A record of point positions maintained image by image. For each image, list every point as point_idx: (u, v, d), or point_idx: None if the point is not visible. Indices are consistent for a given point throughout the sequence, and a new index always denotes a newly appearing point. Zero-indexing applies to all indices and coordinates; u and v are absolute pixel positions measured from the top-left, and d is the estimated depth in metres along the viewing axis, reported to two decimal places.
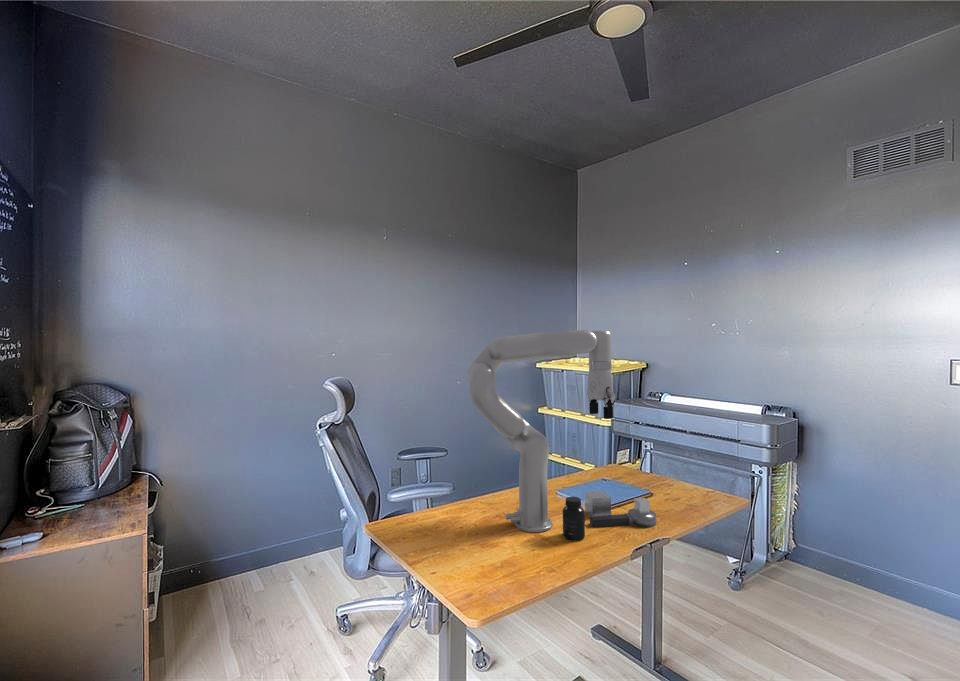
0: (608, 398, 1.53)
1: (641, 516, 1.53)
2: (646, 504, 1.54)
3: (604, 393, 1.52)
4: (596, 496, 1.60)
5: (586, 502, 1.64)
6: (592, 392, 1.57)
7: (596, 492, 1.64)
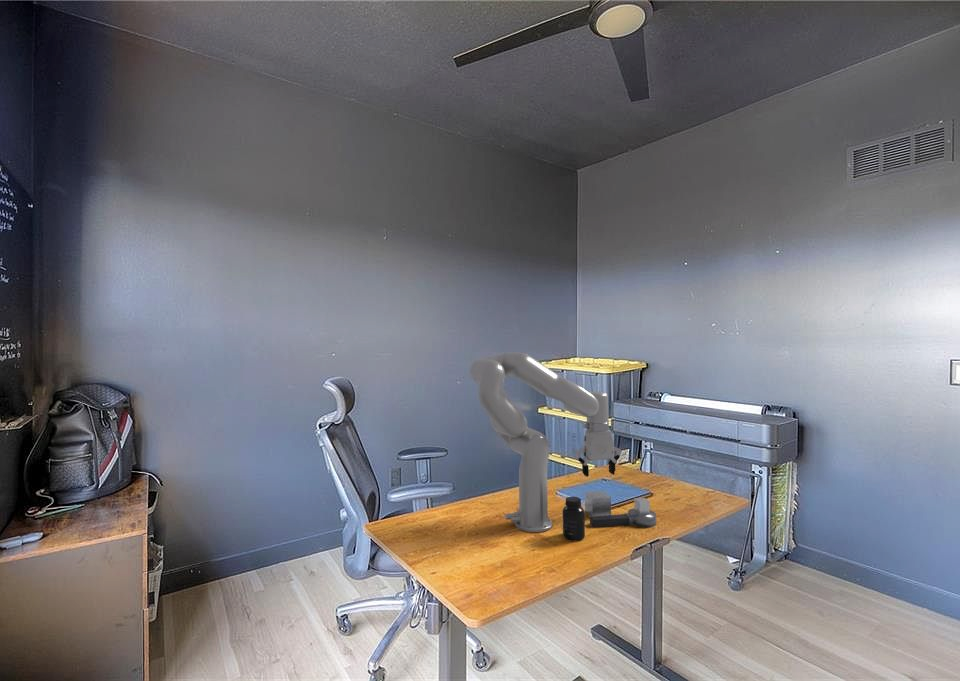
0: None
1: (641, 516, 1.53)
2: (646, 504, 1.54)
3: None
4: (596, 496, 1.60)
5: (586, 502, 1.64)
6: (600, 453, 1.60)
7: (596, 492, 1.64)
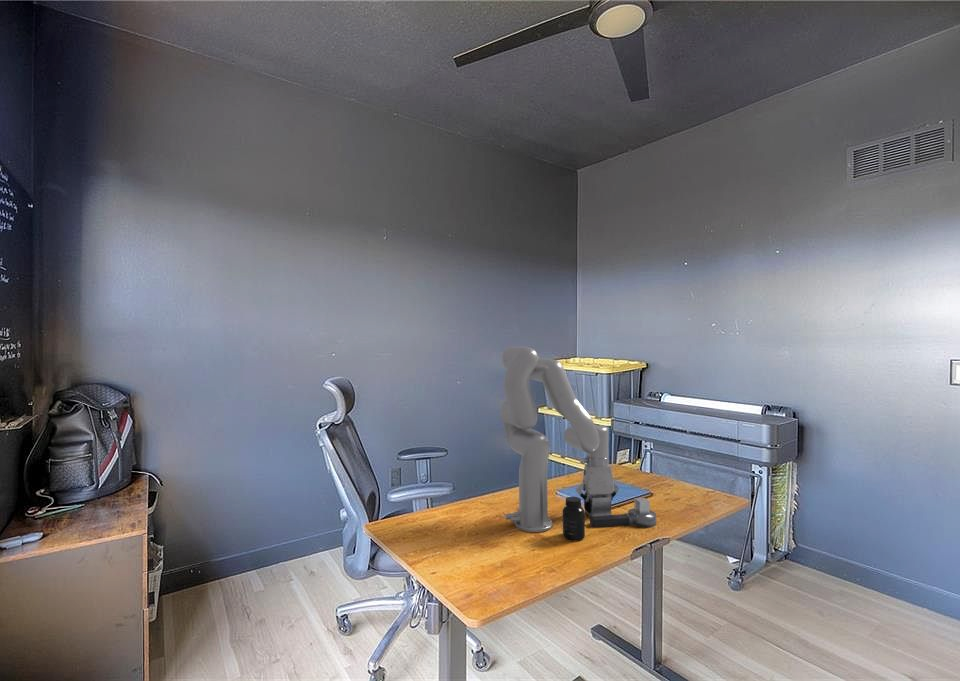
0: None
1: (641, 516, 1.53)
2: (646, 504, 1.54)
3: None
4: (596, 496, 1.60)
5: None
6: (599, 488, 1.60)
7: None
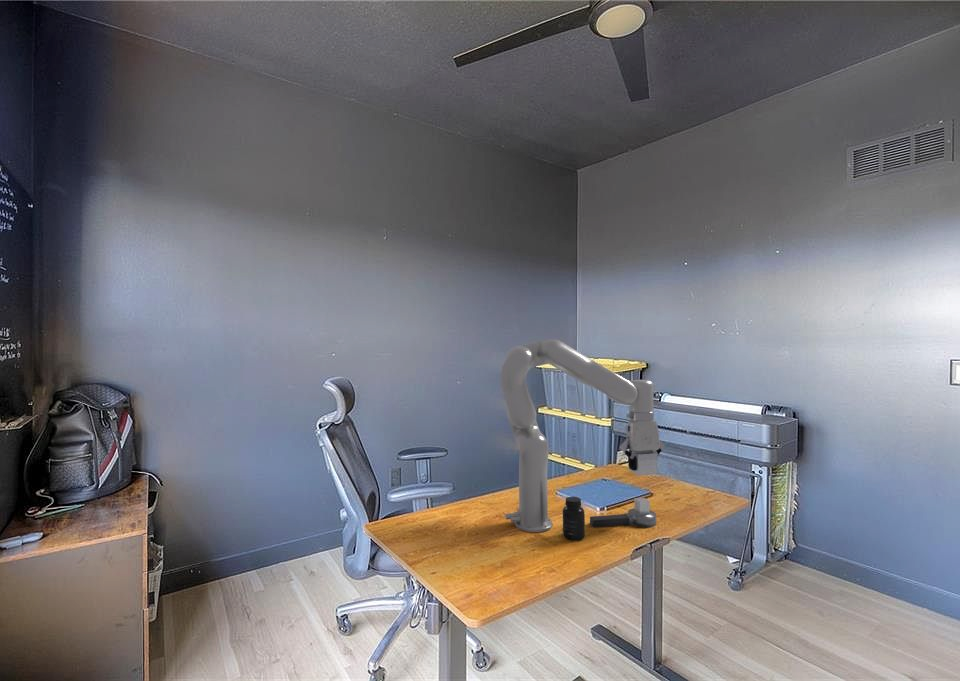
0: None
1: (641, 516, 1.53)
2: (646, 504, 1.54)
3: None
4: (641, 452, 1.53)
5: None
6: (645, 444, 1.52)
7: None
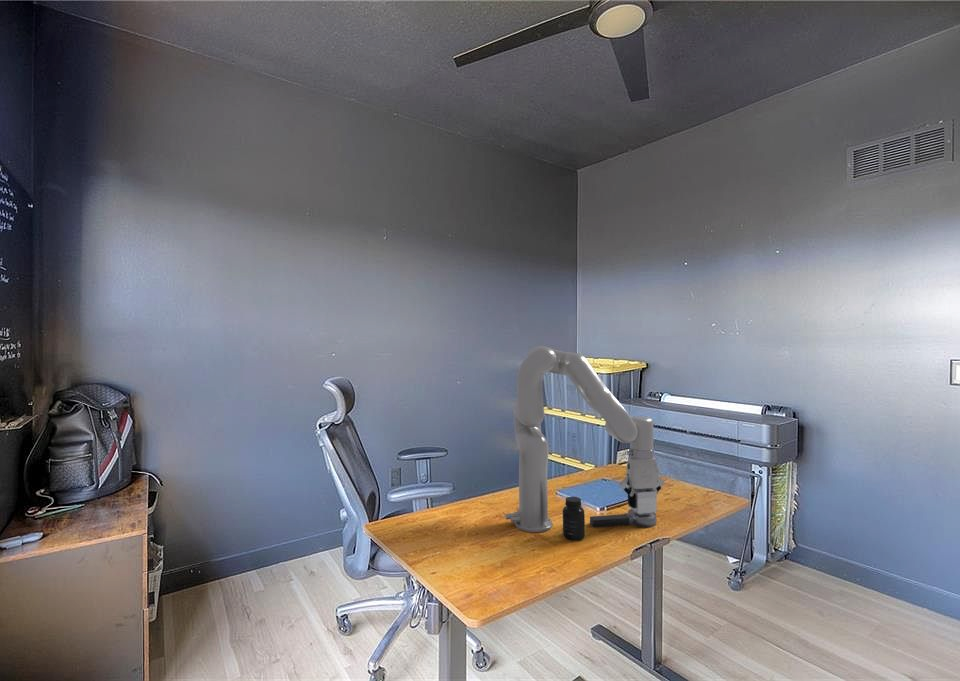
0: None
1: (641, 516, 1.53)
2: None
3: None
4: (641, 490, 1.53)
5: None
6: (644, 482, 1.52)
7: None
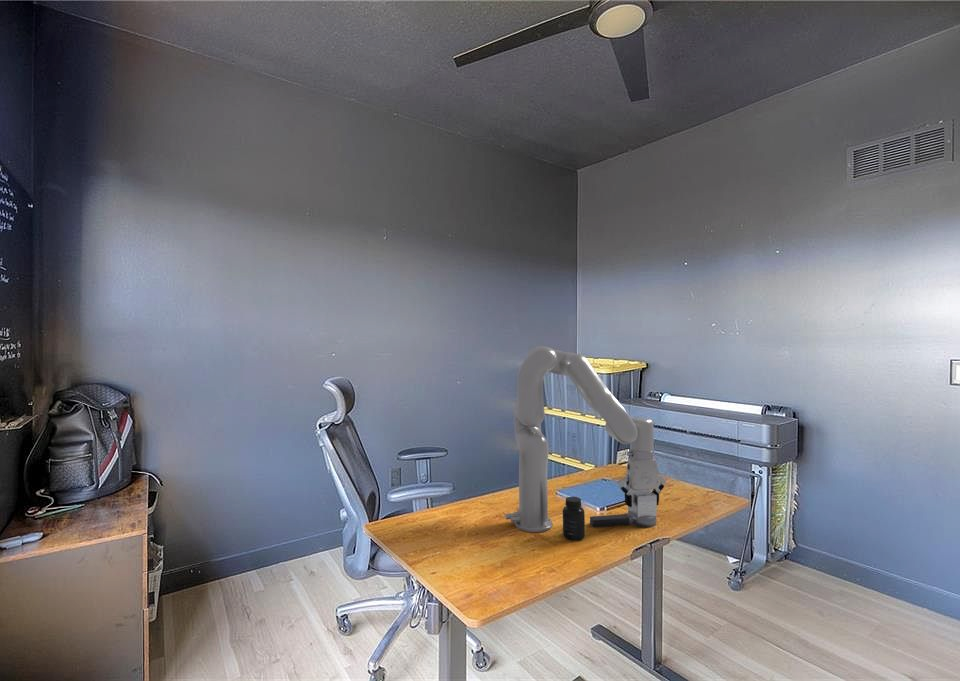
0: None
1: None
2: None
3: None
4: (641, 494, 1.53)
5: None
6: (644, 483, 1.52)
7: (640, 490, 1.58)
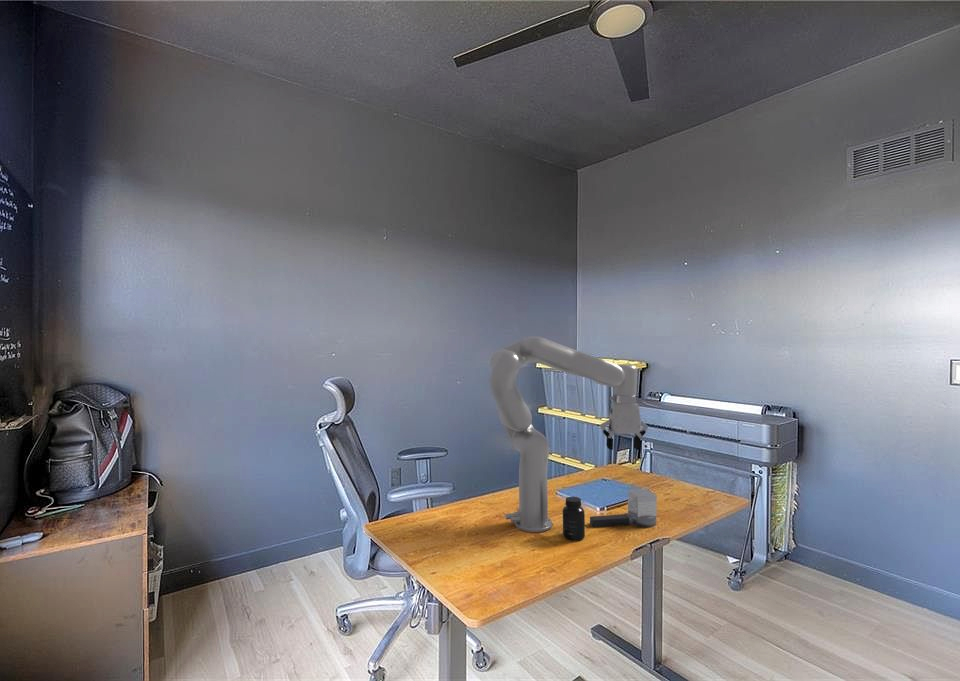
0: None
1: None
2: None
3: None
4: (641, 494, 1.53)
5: (629, 500, 1.57)
6: (626, 427, 1.57)
7: (640, 490, 1.58)
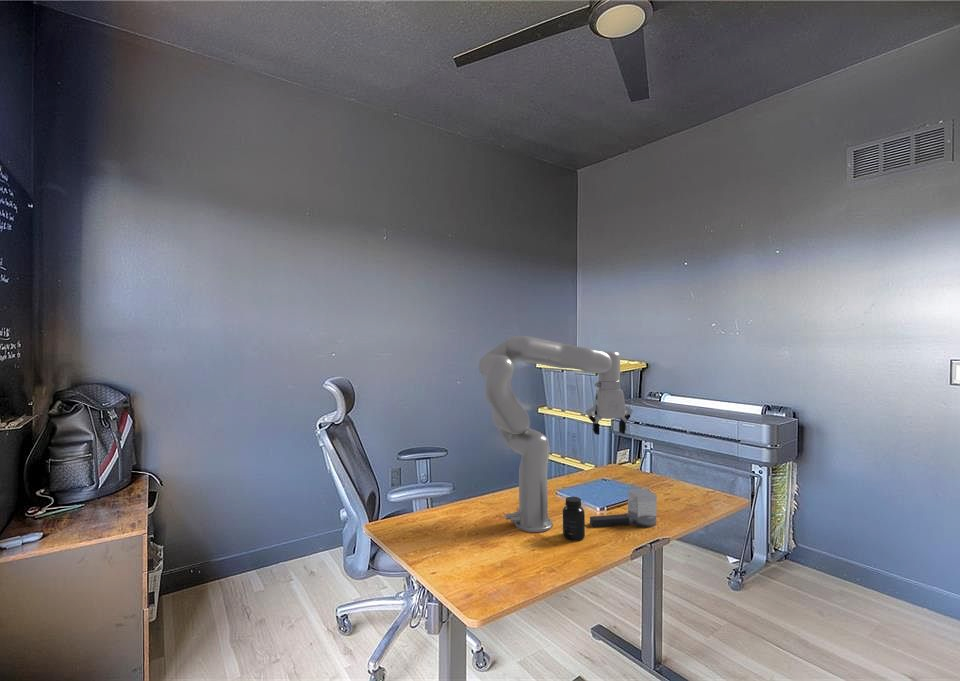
0: None
1: None
2: None
3: None
4: (641, 494, 1.53)
5: (629, 500, 1.57)
6: (611, 412, 1.61)
7: (640, 490, 1.58)
